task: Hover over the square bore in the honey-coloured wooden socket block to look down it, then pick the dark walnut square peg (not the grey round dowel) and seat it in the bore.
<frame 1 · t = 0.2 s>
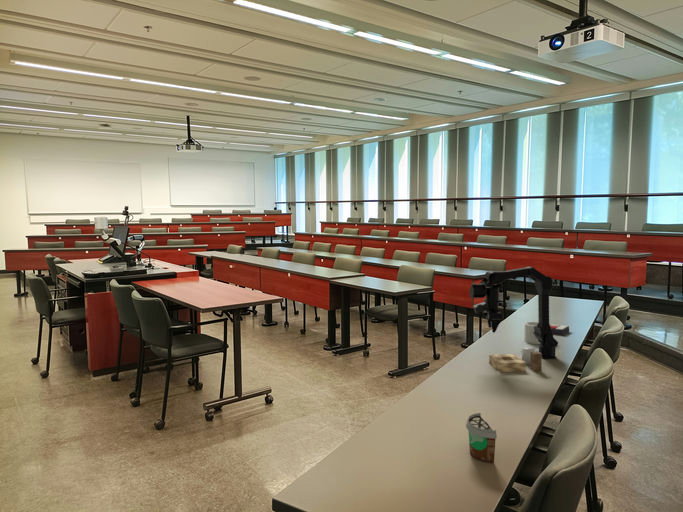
hand: (491, 329, 219), 14 cm above the table, tool pointing down, fingers open, 9 cm apart
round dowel: (528, 362, 214), on the table
mug: (537, 342, 248), on the table
square peg: (535, 370, 204), on the table
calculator: (552, 332, 268), on the table
food container: (477, 455, 134), on the table
socket block: (506, 367, 209), on the table
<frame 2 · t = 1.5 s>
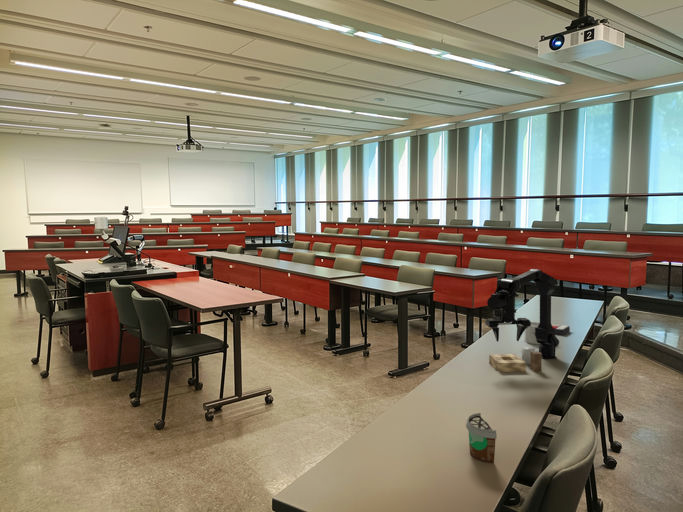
hand: (507, 341, 208), 12 cm above the table, tool pointing down, fingers open, 9 cm apart
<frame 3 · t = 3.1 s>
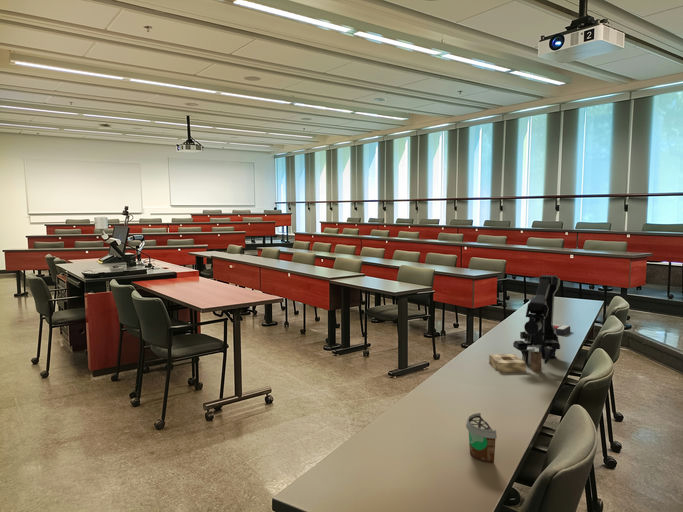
hand: (535, 363, 204), 3 cm above the table, tool pointing down, fingers open, 8 cm apart
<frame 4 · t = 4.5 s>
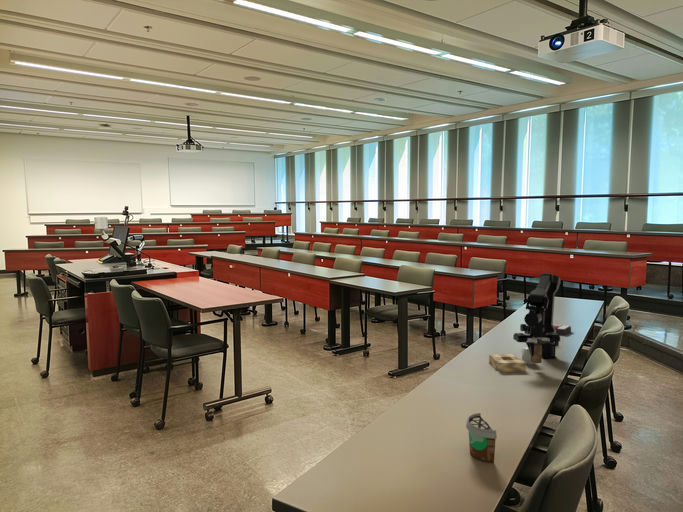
hand: (536, 356, 204), 6 cm above the table, tool pointing down, fingers closed on square peg, 3 cm apart
square peg: (535, 361, 204), point 4 cm above the table, touching gripper
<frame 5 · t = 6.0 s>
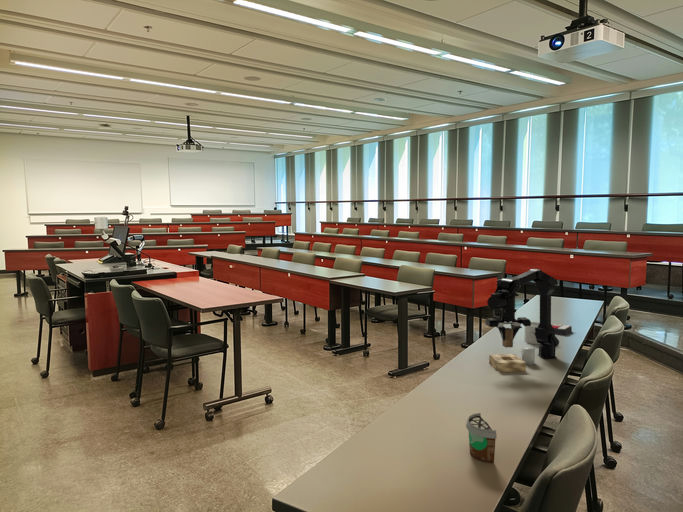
hand: (507, 340, 208), 12 cm above the table, tool pointing down, fingers closed on square peg, 3 cm apart
square peg: (507, 346, 208), point 10 cm above the table, touching gripper
when the fingers open (4 cm above the table, at t = 8.3 s): square peg drops 2 cm, resting in socket block.
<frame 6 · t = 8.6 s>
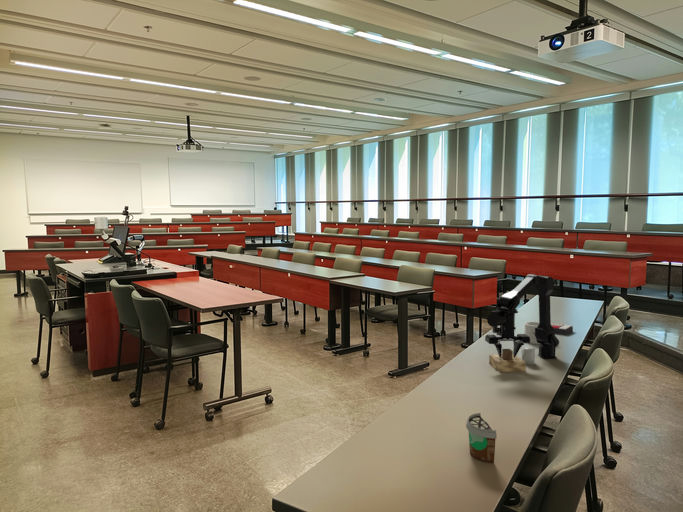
hand: (507, 357, 208), 4 cm above the table, tool pointing down, fingers open, 6 cm apart
square peg: (507, 367, 209), resting in socket block
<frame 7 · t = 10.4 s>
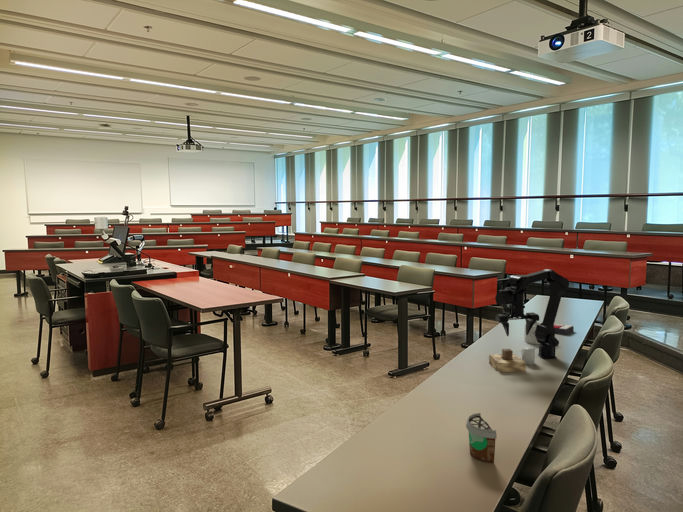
hand: (517, 335, 215), 12 cm above the table, tool pointing down, fingers open, 9 cm apart
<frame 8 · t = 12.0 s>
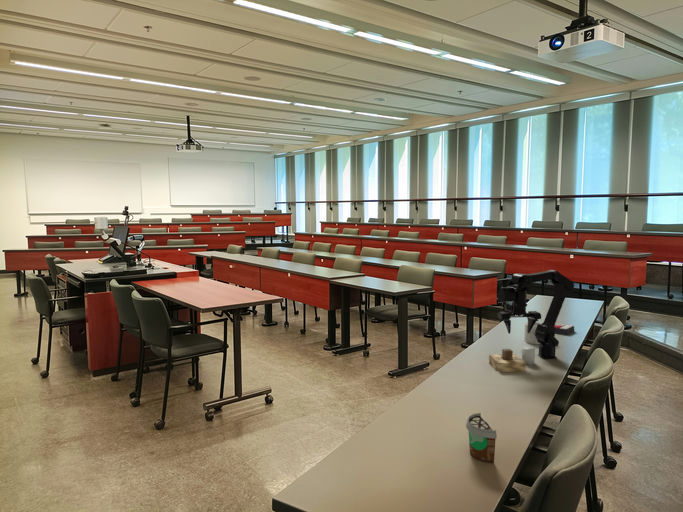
hand: (518, 333, 217), 13 cm above the table, tool pointing down, fingers open, 9 cm apart
at the end: square peg 0.1 cm off-centre on the socket block, point 0.0 cm above the socket block's base; square peg tilted 0°; the gripper is holding nothing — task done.
